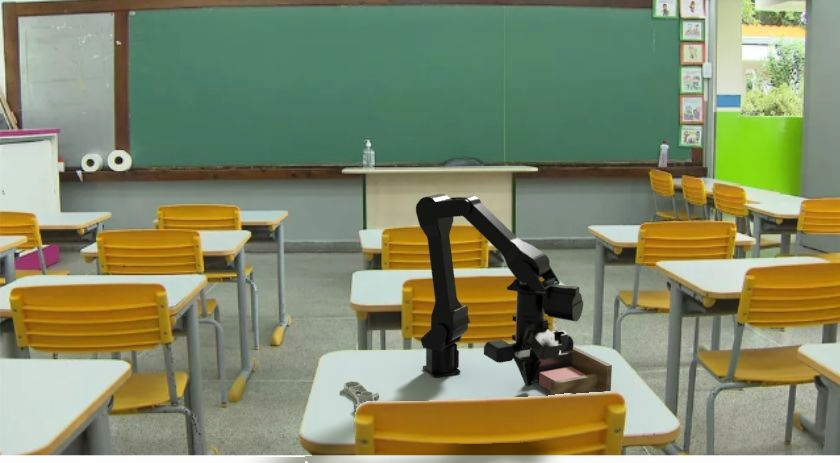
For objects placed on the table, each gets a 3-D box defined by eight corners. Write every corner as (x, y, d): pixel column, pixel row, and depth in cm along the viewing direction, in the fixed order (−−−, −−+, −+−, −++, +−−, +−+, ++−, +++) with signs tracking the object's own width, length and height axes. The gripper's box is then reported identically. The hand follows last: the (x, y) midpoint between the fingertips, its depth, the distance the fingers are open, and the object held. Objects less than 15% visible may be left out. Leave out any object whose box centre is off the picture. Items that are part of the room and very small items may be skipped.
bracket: (339, 409, 145) (344, 379, 160) (339, 419, 146) (344, 388, 160) (378, 409, 146) (379, 379, 160) (378, 418, 146) (379, 387, 161)
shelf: (561, 402, 152) (562, 374, 151) (518, 376, 166) (519, 350, 165) (610, 392, 157) (611, 365, 156) (564, 367, 171) (565, 342, 170)
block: (555, 395, 157) (556, 381, 156) (539, 385, 162) (539, 372, 161) (587, 389, 160) (587, 375, 159) (569, 379, 165) (570, 366, 165)
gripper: (512, 330, 144) (510, 407, 147) (591, 317, 152) (588, 391, 155) (483, 314, 154) (481, 387, 157) (558, 304, 162) (556, 373, 164)
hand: (528, 385), depth 158 cm, fingers closed
